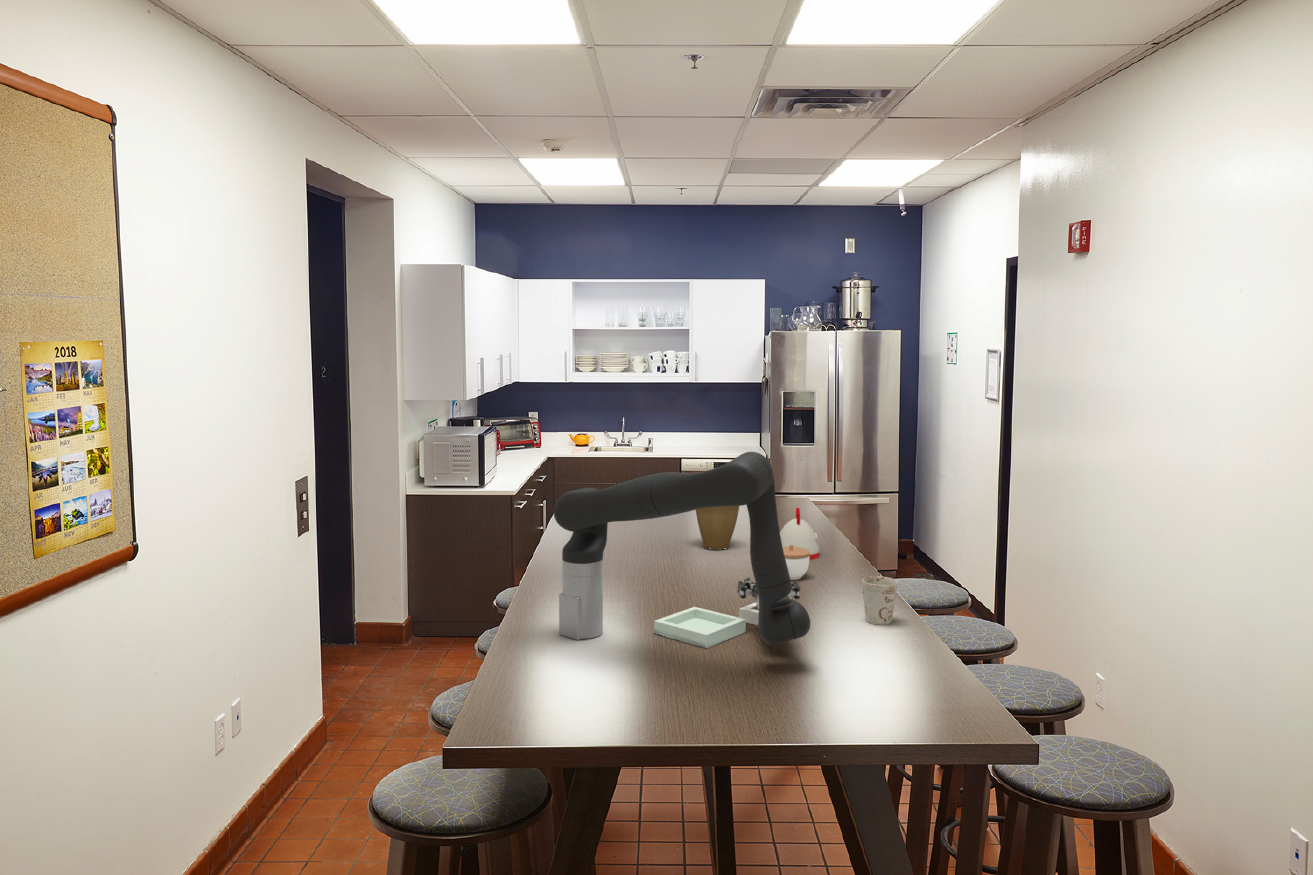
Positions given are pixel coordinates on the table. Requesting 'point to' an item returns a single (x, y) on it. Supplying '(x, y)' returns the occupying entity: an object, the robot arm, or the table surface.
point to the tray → (700, 627)
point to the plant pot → (717, 525)
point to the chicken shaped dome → (800, 536)
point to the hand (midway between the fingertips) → (765, 581)
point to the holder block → (749, 614)
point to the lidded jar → (796, 561)
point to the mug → (879, 599)
